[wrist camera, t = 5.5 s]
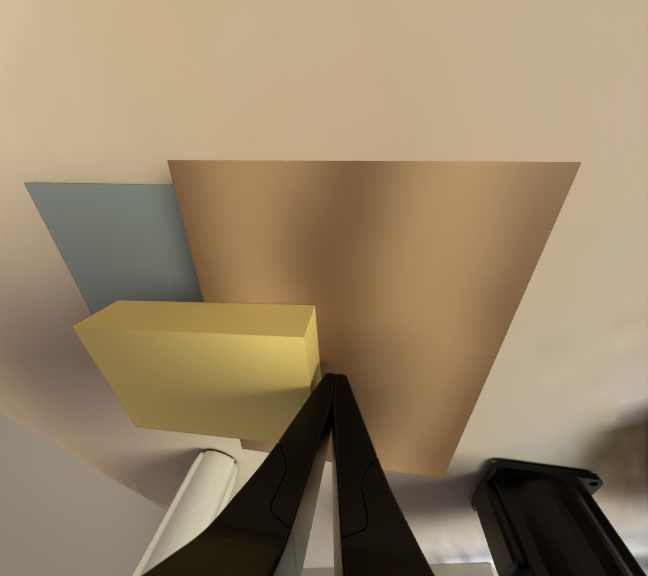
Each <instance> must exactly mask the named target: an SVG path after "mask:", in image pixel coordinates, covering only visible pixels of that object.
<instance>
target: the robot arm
mask: <svg viewBox="0 0 648 576" xmlns="http://www.w3.org/2000/svg"><path fill="white" fill-rule="evenodd" d="M331 430H332V486H333V539H334V576H435V574H434V573H433V571H432V569H431V567H430V566H429V564H428V562H427V560H426V558H425V556H424V554H423V553H422V551H421V549H420V547H419V545H418V543H417V541H416V539H415V537H414V535H413V533H412V531H411V529H410V527H409V525H408V523H407V521H406V519H405V517H404V515H403V513H402V511H401V509H400V507H399V505H398V503H397V501H396V499H395V497H394V494H393V492H392V490H391V488H390V486H389V484H388V481H387V479H386V476H385V474H384V472H383V469H382V466H381V464H380V461H379V459H378V457H377V454H376V451H375V448H374V446H373V443H372V441H371V438H370V435H369V433H368V430H367V427H366V425H365V422H364V419H363V417H362V414H361V412H360V409H359V406H358V404H357V401H356V398H355V396H354V393H353V391H352V388H351V385H350V383H349V380H348V377H347V375H345V374H335V373H328V372H327V373H325V374H324V376H323V377H322V379H321V380H320V382H319V383H318V385H317V386H316V387H315V389H314V390H313V392H312V393H311V395H310V396H309V398H308V399H307V400H306V402H305V403H304V405H303V406H302V408H301V409H300V411H299V412H298V413H297V415H296V416H295V418H294V419H293V421H292V422H291V424H290V425H289V426H288V428H287V429H286V431H285V432H284V434H283V435H282V436H281V438H280V439H279V443H277V444H276V445H275V446H274V448H273V449H272V451H271V452H270V454H269V455H268V456H267V458H266V459H265V460H264V462H263V463H262V464H261V466H260V467H259V468H258V469H257V471H256V472H255V473H254V474H253V475H252V477H251V478H250V479H249V480H248V481H247V483H246V484H245V485H244V486H243V487H242V488H241V490H240V491H239V492H238V493H237V494H236V495H235V496H234V498H233V499H232V500H231V501H230V502H229V503H228V505H227V506H226V507H225V508H224V509H223V510H222V512H221V513H220V514H219V515H218V516H217V517H216V518H215V519H214V521H213V522H212V523H211V524H210V525H209V526H208V527H207V528H206V529H205V530H204V531H203V532H201V533H200V534H199V535H198V536H197V537H195V538H194V539H193V540H191V541H190V542H189V543H187V544H186V545H184V546H183V547H181V548H180V549H179V550H177V551H176V552H174V553H173V554H171V555H170V556H169V557H167V558H166V559H164V560H163V561H161V562H160V563H159V564H157V565H156V566H154V567H153V568H151V569H150V570H149V571H147V572H146V573H144V574H143V575H142V576H301V573H302V568H303V563H304V559H305V554H306V549H307V545H308V540H309V535H310V530H311V526H312V521H313V516H314V512H315V507H316V502H317V497H318V493H319V488H320V483H321V478H322V474H323V469H324V464H325V460H326V455H327V450H328V445H329V441H330V436H331ZM602 485H603V482H602V480H601V479H600V478H599V476H598V475H597V474H594V473H589V472H581V471H574V470H567V469H559V468H552V467H545V466H537V465H530V464H523V463H515V462H508V461H497V462H494V463H493V465H492V467H491V468H490V470H489V472H488V473H487V475H486V477H485V479H484V480H483V482H482V484H481V485H480V487H479V489H478V490H477V492H476V494H475V496H474V497H473V499H472V501H471V505H472V508H473V510H474V511H477V513H478V516H479V519H480V522H481V525H482V528H483V531H484V534H485V537H486V540H487V543H488V546H489V549H490V552H491V555H492V558H493V561H494V564H495V567H496V570H497V573H498V575H499V576H647V575H646V574H645V573H644V571H643V570H642V568H641V567H640V565H639V564H638V562H637V561H636V559H635V558H634V557H633V555H632V554H631V552H630V551H629V549H628V548H627V546H626V545H625V544H624V542H623V541H622V539H621V538H620V536H619V535H618V533H617V532H616V531H615V529H614V528H613V526H612V525H611V523H610V522H609V520H608V519H607V517H606V516H605V515H604V513H603V512H602V510H601V509H600V507H599V506H598V504H597V503H596V502H595V500H594V499H593V497H592V495H593V494H594V493H595V492H596V491H597V490H598V489H599V488H600V487H601V486H602Z"/></svg>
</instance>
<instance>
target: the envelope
mask: <svg viewBox="0 0 648 576" xmlns="http://www.w3.org/2000/svg"><path fill="white" fill-rule="evenodd" d="M429 566H430V567H431V569H432V571H433V573H434V574H435V576H499V575H498V573H497V572H496V570H495V569H494V568H493V566H492V565H491V564H489V563H453V564H429ZM301 576H334V568H306V569H302V573H301Z"/></svg>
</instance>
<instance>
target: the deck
mask: <svg viewBox="0 0 648 576" xmlns="http://www.w3.org/2000/svg"><path fill="white" fill-rule="evenodd" d="M167 161H168V164H169V168H170V172H171V176H172V180H173V184H174V187H175V191H176V195H177V199H178V203H179V207H180V211H181V214H182V218H183V222H184V226H185V230H186V234H187V238H188V241H189V245H190V249H191V253H192V257H193V261H194V264H195V268H196V272H197V276H198V280H199V284H200V288H201V291H202V295H203V299H204V302H205V303H246V304H287V305H315V312H316V324H317V335H318V347H319V358H320V370H321V379H322V377H323V376H324V374H325V373H327V372H328V373H335V374H345V375H347V377H348V380H349V383H350V385H351V388H352V391H353V393H354V396H355V398H356V401H357V404H358V406H359V409H360V412H361V414H362V417H363V419H364V422H365V425H366V427H367V430H368V433H369V435H370V438H371V441H372V443H373V446H374V448H375V451H376V454H377V457H378V459H379V461H380V464H381V466H382V469H383V470H389V471H396V472H403V473H410V474H416V475H423V476H430V477H437V478H443V477H444V475H445V473H446V470H447V468H448V466H449V464H450V461H451V459H452V457H453V454H454V452H455V450H456V448H457V445H458V443H459V441H460V438H461V436H462V434H463V432H464V429H465V427H466V425H467V422H468V420H469V418H470V416H471V413H472V411H473V409H474V407H475V404H476V402H477V400H478V397H479V395H480V393H481V391H482V388H483V386H484V384H485V381H486V379H487V377H488V375H489V372H490V370H491V368H492V365H493V363H494V361H495V359H496V356H497V354H498V352H499V349H500V347H501V345H502V343H503V340H504V338H505V336H506V333H507V331H508V329H509V327H510V324H511V322H512V320H513V317H514V315H515V313H516V311H517V308H518V306H519V304H520V301H521V299H522V297H523V295H524V292H525V290H526V288H527V285H528V283H529V281H530V279H531V276H532V274H533V272H534V270H535V267H536V265H537V263H538V260H539V258H540V256H541V254H542V251H543V249H544V247H545V244H546V242H547V240H548V238H549V235H550V233H551V231H552V228H553V226H554V224H555V222H556V219H557V217H558V215H559V212H560V210H561V208H562V206H563V203H564V201H565V199H566V196H567V194H568V192H569V190H570V187H571V185H572V183H573V180H574V178H575V176H576V174H577V171H578V169H579V167H580V164H581V162H421V161H203V160H167ZM240 442H241V446H242V449H248V450H255V451H261V452H268V453H270V452H271V451H272V449H273V448H274V446H275V445H276V444H277V443H272V442H263V441H254V440H245V439H240ZM325 461H329V462H332V430H331V436H330V441H329V445H328V450H327V455H326V460H325Z"/></svg>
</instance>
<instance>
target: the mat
mask: <svg viewBox="0 0 648 576" xmlns="http://www.w3.org/2000/svg"><path fill="white" fill-rule="evenodd" d="M24 184H25V186H26V188H27V190H28V192H29V194H30V196H31V198H32V200H33V201H34V203H35V205H36V207H37V209H38V211H39V213H40V215H41V217H42V219H43V221H44V223H45V224H46V226H47V228H48V230H49V232H50V234H51V236H52V238H53V240H54V242H55V244H56V246H57V248H58V249H59V251H60V253H61V255H62V257H63V259H64V261H65V263H66V265H67V267H68V269H69V271H70V272H71V274H72V276H73V278H74V280H75V282H76V284H77V286H78V288H79V290H80V292H81V294H82V296H83V297H84V299H85V301H86V303H87V305H88V307H89V309H90V311H91V313H92V315H93V314H95V313H97V312H99V311H101V310H102V309H104V308H106V307H108V306H109V305H111V304H113V303H115V302H116V301H118V300H123V301H164V302H204V299H203V295H202V291H201V288H200V284H199V280H198V276H197V272H196V268H195V264H194V261H193V257H192V253H191V249H190V245H189V241H188V238H187V234H186V230H185V226H184V222H183V218H182V214H181V211H180V207H179V203H178V199H177V195H176V191H175V187H174V185H154V184H96V183H38V182H29V183H24Z"/></svg>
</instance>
